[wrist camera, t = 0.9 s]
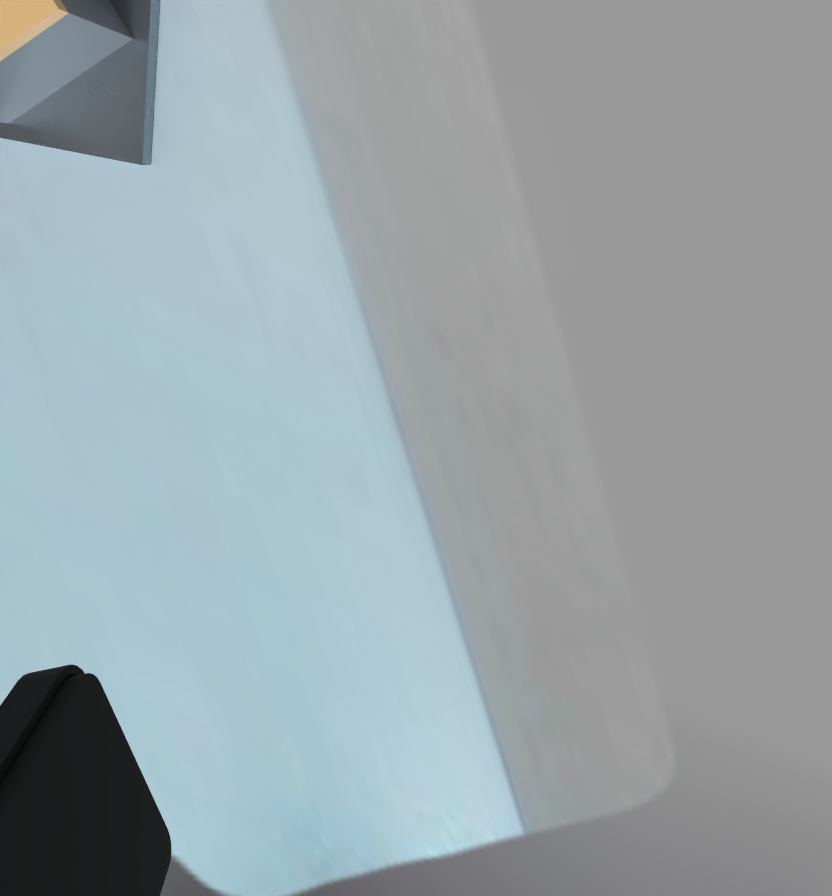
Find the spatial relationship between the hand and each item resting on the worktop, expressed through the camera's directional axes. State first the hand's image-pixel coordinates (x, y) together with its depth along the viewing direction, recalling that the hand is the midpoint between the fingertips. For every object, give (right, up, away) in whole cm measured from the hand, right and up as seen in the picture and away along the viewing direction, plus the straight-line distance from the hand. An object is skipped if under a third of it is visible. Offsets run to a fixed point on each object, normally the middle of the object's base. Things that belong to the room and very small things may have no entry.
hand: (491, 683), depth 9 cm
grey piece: (-15, +19, +18) cm, 30 cm away
